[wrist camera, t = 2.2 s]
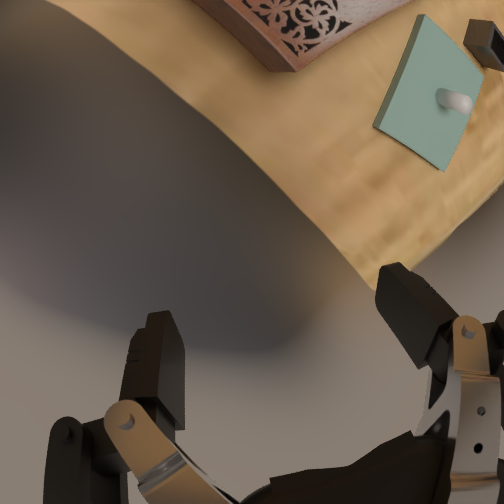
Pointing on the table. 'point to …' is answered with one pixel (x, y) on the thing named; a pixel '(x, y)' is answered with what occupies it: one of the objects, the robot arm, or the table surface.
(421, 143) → the post board
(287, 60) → the tissue box cover
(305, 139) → the table surface
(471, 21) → the open box
